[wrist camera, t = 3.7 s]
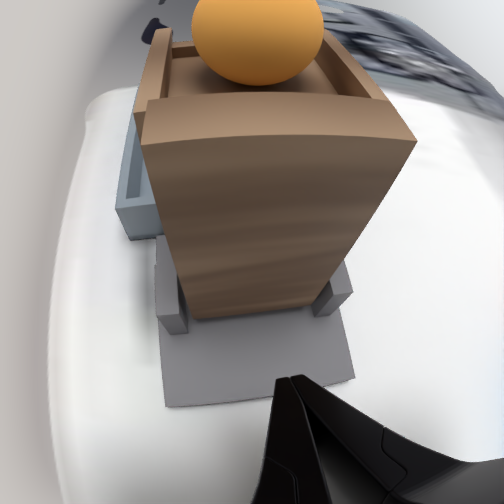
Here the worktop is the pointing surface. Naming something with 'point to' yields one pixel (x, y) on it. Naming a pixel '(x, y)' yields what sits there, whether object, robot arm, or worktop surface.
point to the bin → (136, 191)
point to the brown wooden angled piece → (263, 173)
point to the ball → (257, 38)
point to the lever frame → (246, 343)
